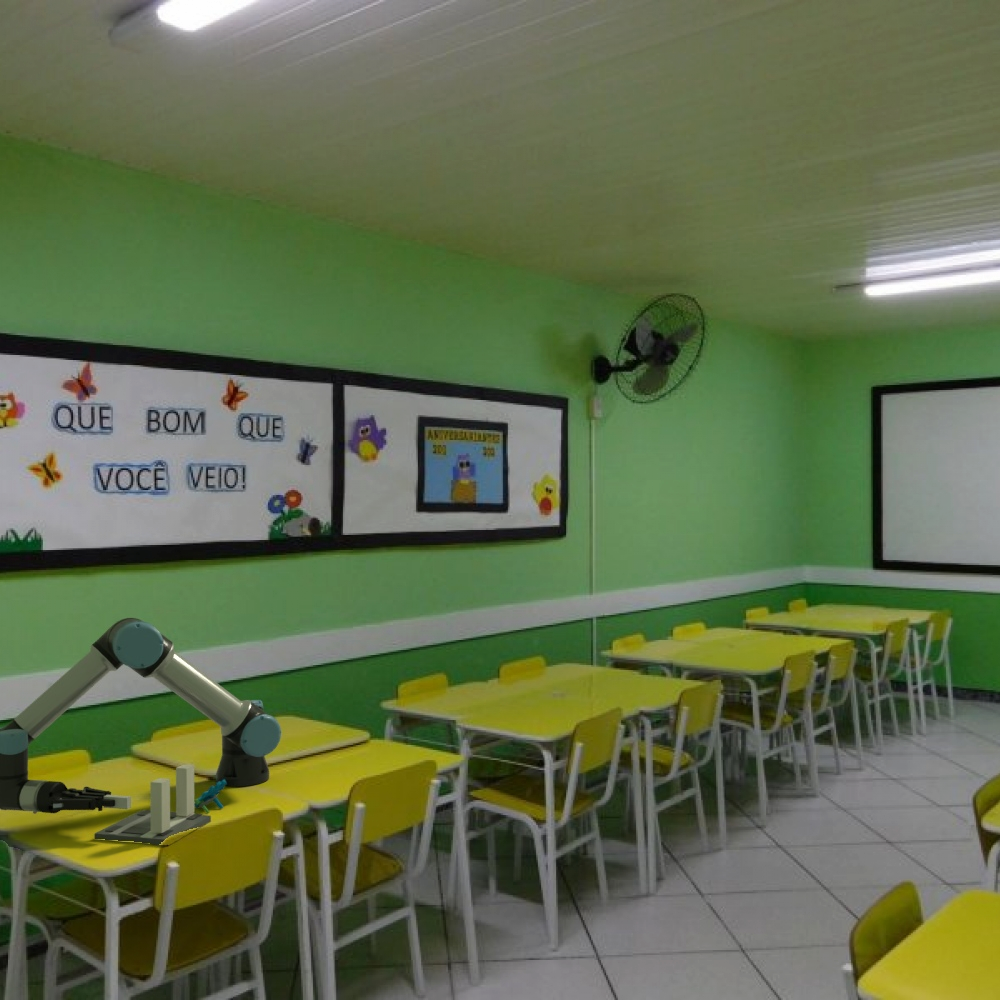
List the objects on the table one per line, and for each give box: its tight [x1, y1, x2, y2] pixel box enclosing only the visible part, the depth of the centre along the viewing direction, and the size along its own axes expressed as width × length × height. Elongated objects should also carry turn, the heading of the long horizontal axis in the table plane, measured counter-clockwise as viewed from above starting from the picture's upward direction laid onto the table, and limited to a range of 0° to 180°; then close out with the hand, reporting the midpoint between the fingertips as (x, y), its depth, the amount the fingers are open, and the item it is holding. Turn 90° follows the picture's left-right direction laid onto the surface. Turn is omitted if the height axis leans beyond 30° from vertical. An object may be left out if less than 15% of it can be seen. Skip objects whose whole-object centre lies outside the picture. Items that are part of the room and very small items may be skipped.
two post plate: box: [93, 764, 212, 846], centre depth 247 cm, size 20×19×14 cm
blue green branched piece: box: [194, 779, 227, 815], centre depth 264 cm, size 11×6×10 cm
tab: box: [150, 777, 171, 833], centre depth 240 cm, size 3×4×12 cm
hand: (128, 802), depth 242 cm, fingers closed
